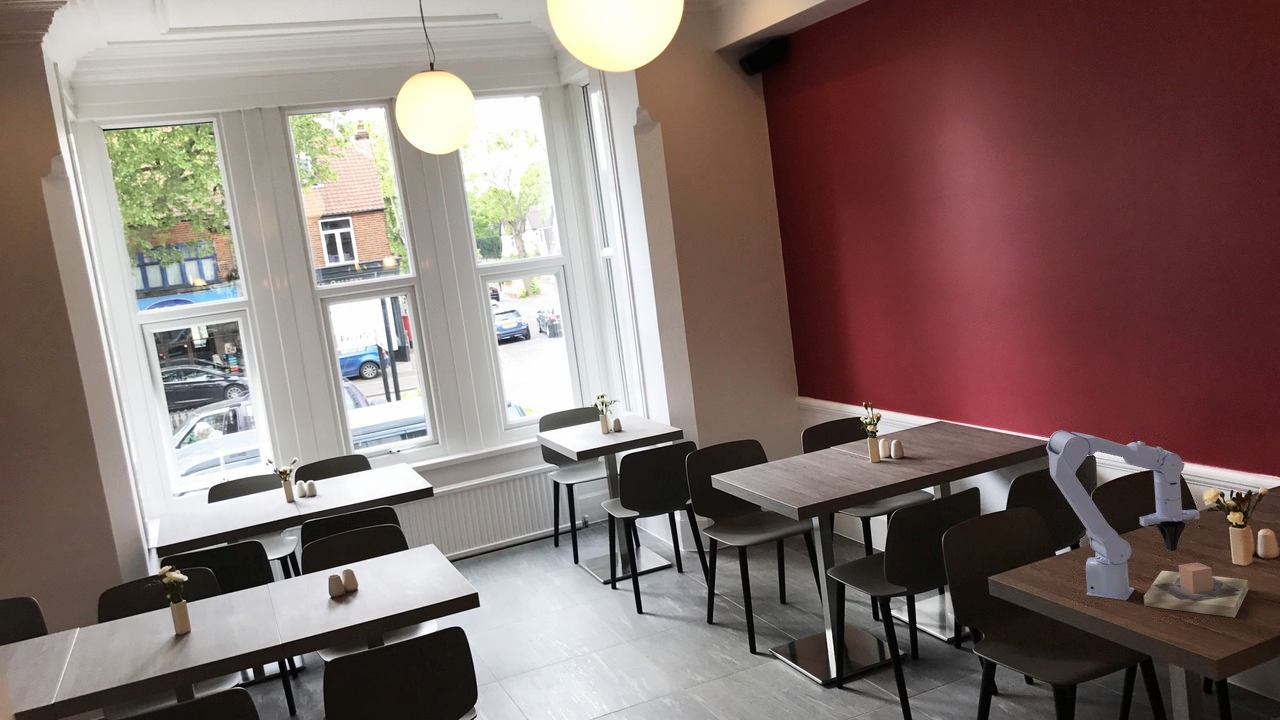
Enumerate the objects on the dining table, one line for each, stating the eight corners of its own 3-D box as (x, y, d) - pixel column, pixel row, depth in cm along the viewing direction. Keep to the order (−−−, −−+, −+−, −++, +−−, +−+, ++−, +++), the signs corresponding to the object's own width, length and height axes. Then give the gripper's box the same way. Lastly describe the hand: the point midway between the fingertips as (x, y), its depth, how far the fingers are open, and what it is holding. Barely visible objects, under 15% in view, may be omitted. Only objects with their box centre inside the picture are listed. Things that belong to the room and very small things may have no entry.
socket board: (1144, 605, 234) (1143, 596, 233) (1162, 579, 248) (1161, 570, 248) (1234, 617, 221) (1234, 607, 221) (1248, 589, 235) (1247, 579, 235)
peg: (1194, 603, 232) (1191, 571, 231) (1181, 596, 237) (1178, 565, 236) (1214, 599, 232) (1211, 568, 231) (1200, 593, 237) (1197, 562, 236)
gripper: (1149, 505, 237) (1153, 558, 238) (1206, 497, 238) (1209, 550, 239) (1133, 498, 244) (1137, 549, 245) (1188, 490, 245) (1191, 541, 246)
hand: (1171, 549), depth 243 cm, fingers closed
